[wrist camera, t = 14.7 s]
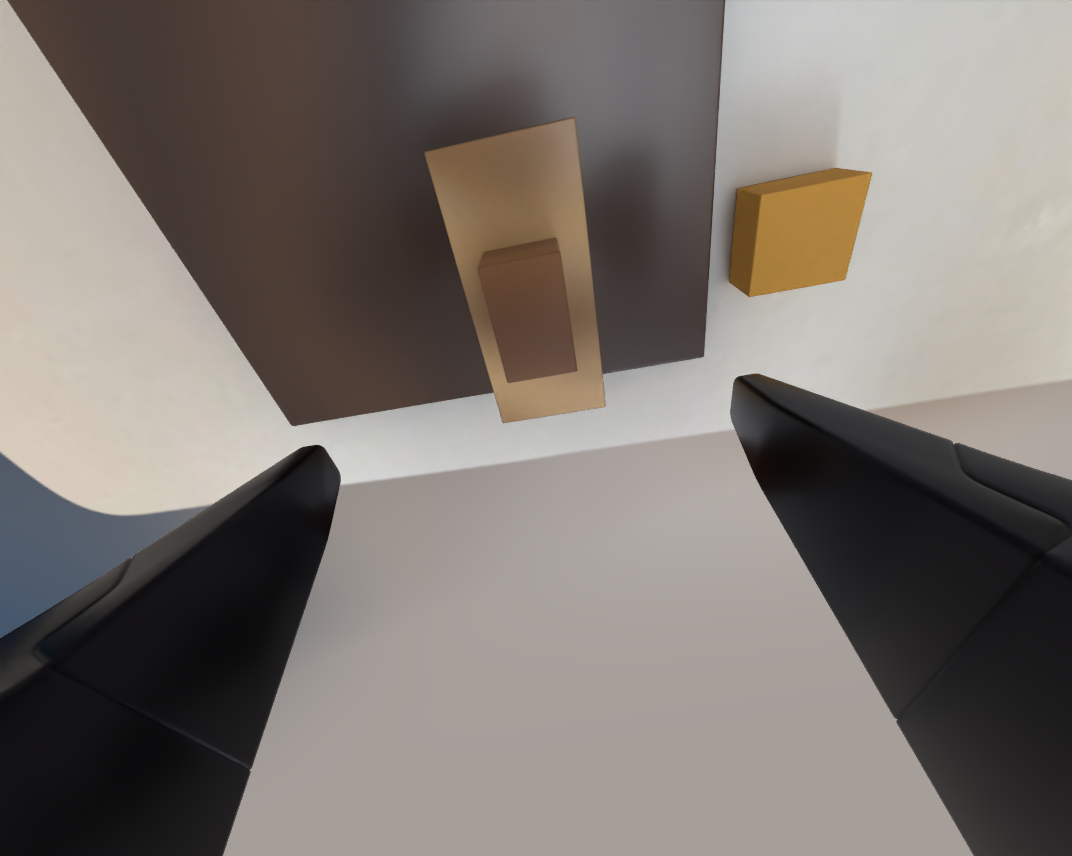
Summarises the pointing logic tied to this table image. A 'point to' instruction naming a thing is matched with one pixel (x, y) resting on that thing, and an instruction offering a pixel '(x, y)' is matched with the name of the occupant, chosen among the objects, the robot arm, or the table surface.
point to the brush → (525, 265)
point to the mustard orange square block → (796, 230)
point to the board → (397, 167)
